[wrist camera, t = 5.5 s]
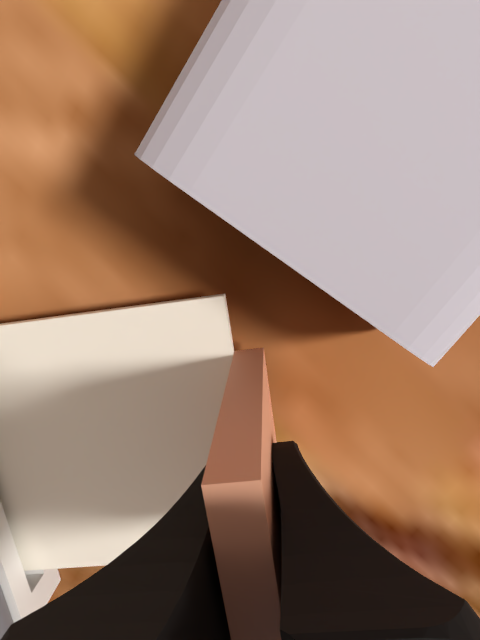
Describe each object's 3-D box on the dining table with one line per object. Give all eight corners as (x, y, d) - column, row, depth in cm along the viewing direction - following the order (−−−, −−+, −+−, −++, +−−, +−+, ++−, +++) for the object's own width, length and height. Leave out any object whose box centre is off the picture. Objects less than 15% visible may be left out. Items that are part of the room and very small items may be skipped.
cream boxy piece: (255, 289, 13) (243, 365, 6) (290, 544, 15) (311, 809, 8) (-79, 334, 14) (-410, 440, 7) (1, 564, 16) (-191, 811, 9)
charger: (748, -108, 11) (385, 328, 14) (487, -352, 10) (170, 175, 13) (1123, -365, 6) (444, 379, 9) (685, -868, 5) (120, 150, 9)
